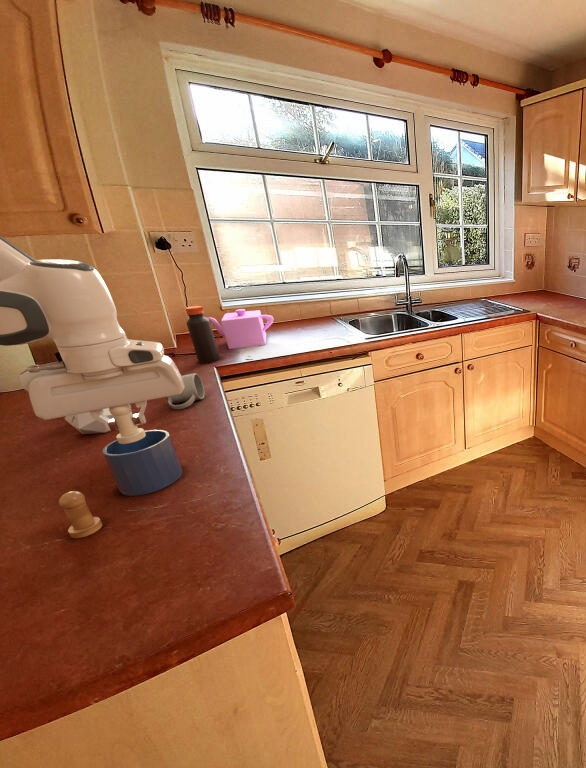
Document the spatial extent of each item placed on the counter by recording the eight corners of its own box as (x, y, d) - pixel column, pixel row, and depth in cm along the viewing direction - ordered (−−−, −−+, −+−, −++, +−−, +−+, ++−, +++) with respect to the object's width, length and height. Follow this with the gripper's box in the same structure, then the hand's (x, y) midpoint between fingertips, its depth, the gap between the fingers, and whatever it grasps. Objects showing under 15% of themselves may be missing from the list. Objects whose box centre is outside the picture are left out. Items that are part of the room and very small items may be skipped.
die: (80, 431, 108) (46, 413, 99) (112, 404, 112) (82, 385, 103) (103, 446, 106) (70, 430, 97) (135, 419, 110) (107, 400, 102)
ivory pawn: (116, 446, 77) (100, 408, 74) (120, 437, 80) (104, 400, 77) (144, 439, 79) (130, 402, 76) (146, 431, 82) (132, 395, 79)
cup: (116, 502, 79) (97, 461, 76) (123, 477, 87) (107, 439, 83) (181, 484, 84) (167, 444, 81) (183, 461, 92) (170, 425, 88)
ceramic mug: (173, 398, 124) (165, 374, 121) (206, 393, 127) (199, 369, 124) (163, 413, 115) (153, 387, 112) (198, 407, 118) (190, 382, 115)
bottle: (197, 360, 157) (180, 307, 150) (218, 356, 161) (203, 304, 154) (200, 364, 153) (183, 310, 145) (222, 360, 157) (206, 307, 149)
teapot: (213, 342, 180) (203, 309, 175) (278, 334, 191) (271, 303, 185) (207, 351, 168) (197, 317, 162) (278, 342, 178) (270, 309, 173)
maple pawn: (68, 542, 69) (48, 503, 67) (73, 528, 73) (54, 491, 70) (100, 532, 72) (82, 494, 69) (104, 519, 75) (87, 482, 72)
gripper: (6, 373, 66) (44, 450, 71) (169, 349, 76) (192, 417, 82) (19, 363, 71) (54, 435, 76) (171, 341, 81) (193, 406, 86)
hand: (127, 426), depth 79 cm, fingers closed on ivory pawn, 2 cm apart
